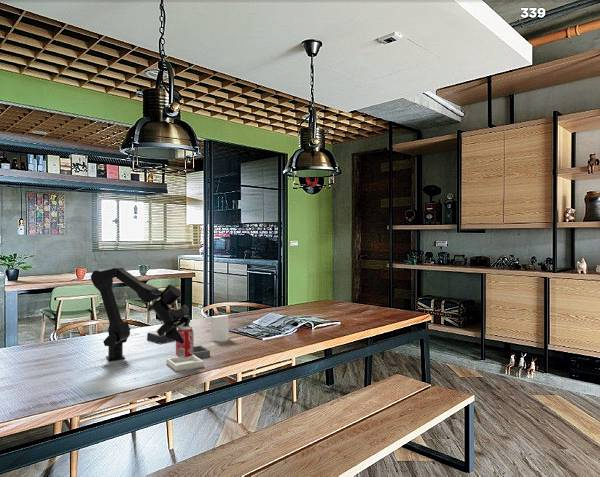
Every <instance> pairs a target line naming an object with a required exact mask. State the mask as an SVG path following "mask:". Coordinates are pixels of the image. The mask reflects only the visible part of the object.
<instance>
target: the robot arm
mask: <svg viewBox="0 0 600 477" xmlns="http://www.w3.org/2000/svg"><path fill="white" fill-rule="evenodd" d="M114 279H117V280H119V282H121V283H123V284H124V285H126V286H127V287H129V288H130V289H132V290H133V291H134V292H135V293H136V294H137V297H138V298H139V299H140V300H141V301H142V302H144V303H146V304H147V303H149V304H148V305H147V306H148V308H147V312H153V311H154V312H155V314H156V315H157V317H159V318H158V322H163V324H162V325H160V327H159V328H158V329H157V330H156V331H157V334H158V335H159V336H160V337H161V336H164V337H168V338H170V339H173V340H172V341H175V342H176V341H177V342H179V343H181V344H183V343H184V341H183V339H182V337H181V336H180V334H179V333H178V331H177V330H178V327H182V326H190V324H191V321H192V319H193V318H192V316H191V315H189V314H190V312H189V310H190V307H188V305H187V304H183V305H181V306H180V307H179V308H178V309H175V308H171V307H170V306H172V305H173V304H175V303H176V301H177V300H178V299H179V298H181V296H182V291H181V290H180V289H179V288H177V287H176V286H174V285H172V284H168V285H167V286H166V287H165V289H164V290H160V289H159V288H157V287H156V286H153V285H151V284H148V283H144V282H143V281H142V280H140V279H139V278H137V277H136V276H135V275H133V274H131V273H130V272H128V271H127V270H125V268H124V267H122V266H117V267H113V268H110V269H106V268H105V269H97V270H93V271H92V272H91V275H90V281H91V282H92V284H93V286H94V287H95V288H96V289H97V290H98V292H99V294H100V296H101V300H102V303H103V304H102V305H103V307H104V309H105V313H106V316H107V319H108V323H109V325H108V329H107V331H108V335H107V337H106V338H105V339H104V340H103V345H104V346H105V347H108V349H107V350H108V351H107V353H108V354H107V355H106V356H105V357H106V359H107V360H108V361H109V362H111V361H117V360H124V359H126V357H125V356H124V354H123V353H124V352H123V350H124V349H123V348H124V345H123V344H124V343H126V342H128V338H129V336H130V335H131V330H132V329H131V328H130V325H129V321H124V320H123V319H122V317H121V314H120V310H119V307H118V304H117V300H116V298H115V295H114V294H115V293H114V291H113V289H112V288H113V283H114V281H113V280H114ZM152 302H153V303H152ZM165 333H166V334H165Z"/></svg>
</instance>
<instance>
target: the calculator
mask: <svg viewBox="0 0 600 477" xmlns="http://www.w3.org/2000/svg"><path fill="white" fill-rule="evenodd" d="M165 334H166V333H165ZM146 337H147V338H146V339H147V341H150V342H154V343H156V344H161V343H162V344H163V343H167V342H171V341H174V340H173V339H170V338H168V337H164V336H161V337H160V336H159V335H158V334H157V330H155V331H149V332H147V333H146Z"/></svg>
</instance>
